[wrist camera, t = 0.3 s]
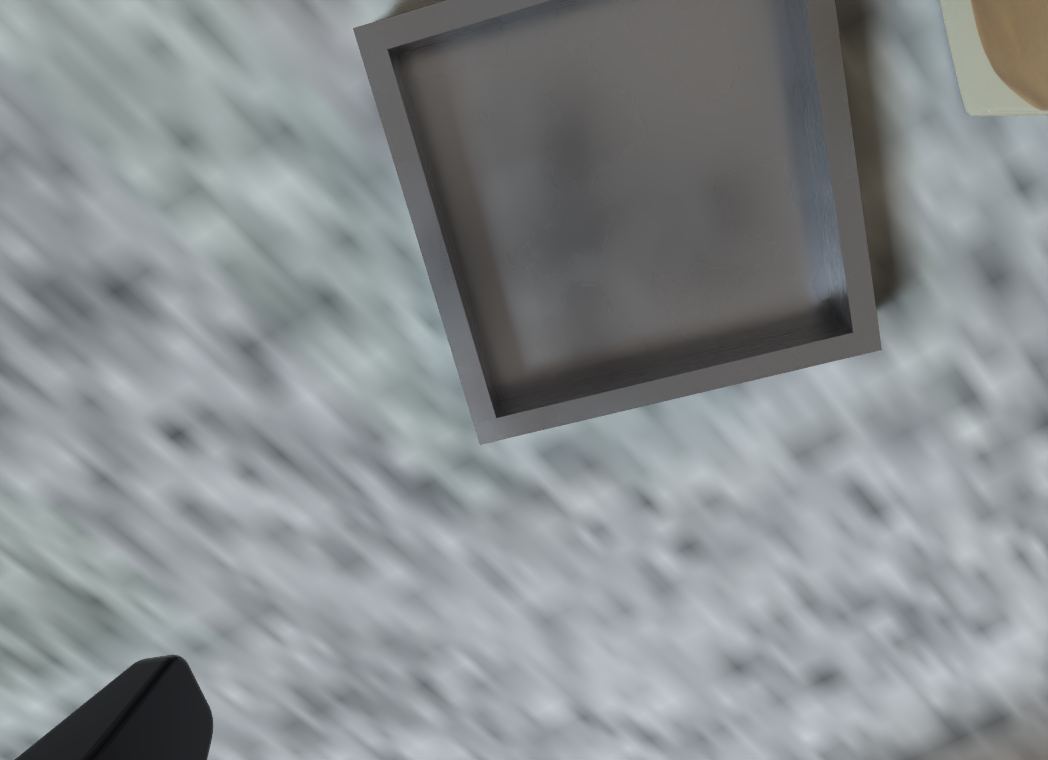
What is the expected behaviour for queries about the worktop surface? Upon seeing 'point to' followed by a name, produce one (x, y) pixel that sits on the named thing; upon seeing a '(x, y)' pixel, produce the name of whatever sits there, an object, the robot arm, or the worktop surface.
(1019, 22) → the skincare box
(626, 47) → the square gray open tray
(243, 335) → the worktop surface
